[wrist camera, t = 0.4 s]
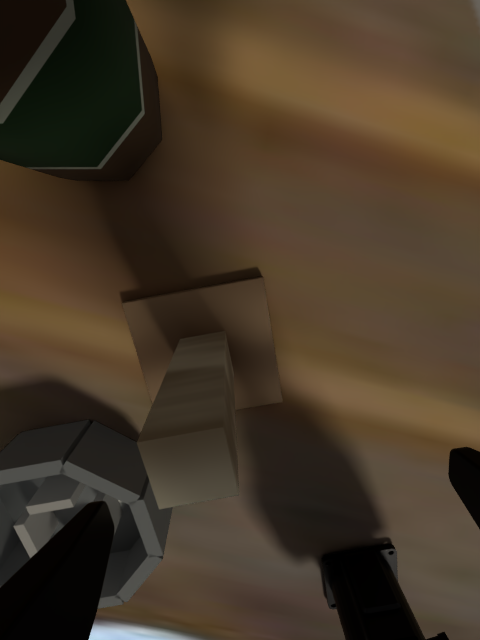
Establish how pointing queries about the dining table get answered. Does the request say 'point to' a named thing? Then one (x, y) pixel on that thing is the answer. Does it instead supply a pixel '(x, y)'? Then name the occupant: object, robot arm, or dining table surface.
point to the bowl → (80, 500)
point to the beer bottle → (76, 89)
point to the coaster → (205, 318)
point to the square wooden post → (193, 426)
